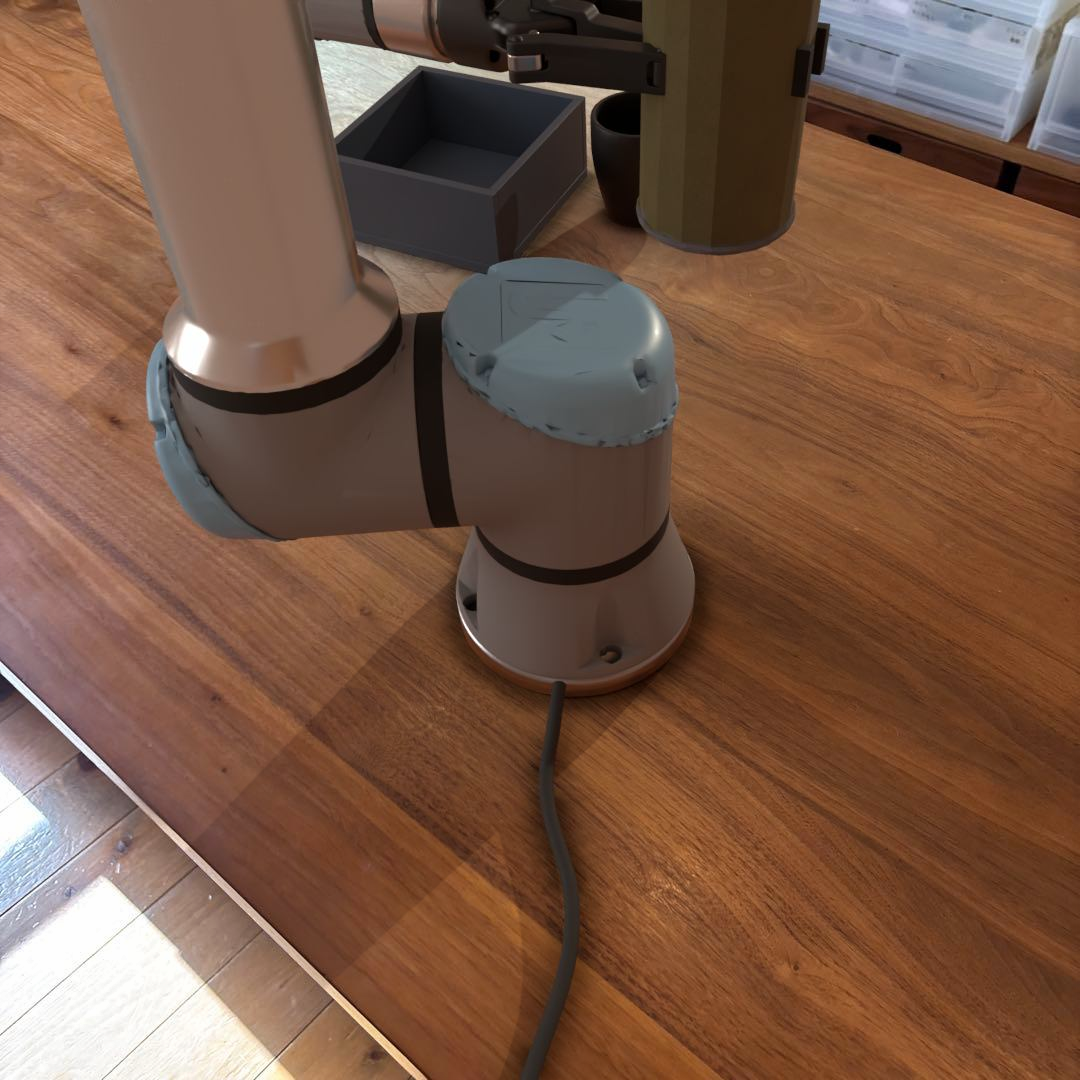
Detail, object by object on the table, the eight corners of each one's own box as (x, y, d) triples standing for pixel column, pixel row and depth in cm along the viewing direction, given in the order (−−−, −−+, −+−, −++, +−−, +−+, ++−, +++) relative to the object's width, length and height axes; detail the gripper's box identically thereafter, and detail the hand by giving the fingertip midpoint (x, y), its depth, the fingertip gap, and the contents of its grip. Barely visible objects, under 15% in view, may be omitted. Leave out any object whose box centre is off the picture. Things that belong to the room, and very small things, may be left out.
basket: (500, 278, 96) (492, 195, 90) (332, 234, 102) (314, 154, 96) (587, 176, 106) (585, 96, 100) (429, 142, 112) (418, 64, 106)
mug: (638, 268, 96) (639, 167, 89) (577, 201, 103) (573, 104, 96) (720, 240, 98) (728, 140, 91) (654, 177, 105) (657, 80, 98)
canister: (805, 254, 70) (856, -93, 55) (638, 259, 70) (644, -82, 55) (783, 163, 77) (823, -165, 62) (633, 169, 77) (636, -155, 62)
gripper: (388, -12, 64) (780, 53, 56) (512, -105, 73) (866, -60, 65) (407, 111, 70) (766, 187, 62) (520, 12, 78) (847, 66, 71)
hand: (816, 60), depth 63 cm, fingers closed on canister, 2 cm apart
